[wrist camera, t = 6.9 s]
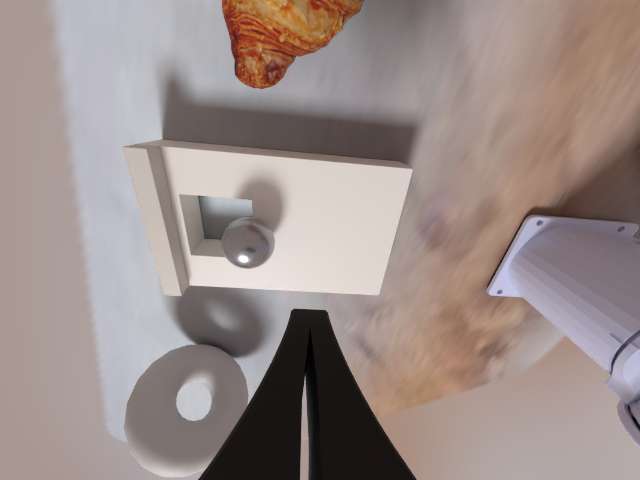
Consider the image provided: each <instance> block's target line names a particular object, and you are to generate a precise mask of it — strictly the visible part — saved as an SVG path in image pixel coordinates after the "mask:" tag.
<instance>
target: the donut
mask: <svg viewBox="0 0 640 480" xmlns="http://www.w3.org/2000/svg"><path fill="white" fill-rule="evenodd" d="M190 382H199V383H201V384H203V385H204V386H206V388H207V389H208V390H209V392H210V394H211V397H212V404H211V409H210V411H209V413H208V414H207V415H206V416H205V417H204V418H203V419H201V420H198V421H189V420H187V419H185V418H183V417H182V416H181V415H180V413H179V412H178V409H177V406H176V397H177V394H178V392H179V390H180V389H181V387H183V386H184V385H185V384H187V383H190ZM247 403H248V390H247V384H246V379H245V377H244V374H243V372H242V370H241V368H240V366H239V365H238V363H237V362H236V361H235V360H234V359H233V358H232V356H231V355H229V354H228V353H226V352H224V351H223V350H221V349H220V348H217V347H213V346H210V345H206V344H199V345H186V346H183V347H180V348H177V349H174V350H171V351H169V352H168V353H167V354H165V355H164V356H162V357H161V358H159V359H158V360H156V361H155V362H153V363H152V364H151V365H150V367H149V368H148V369H147V370H146V371H145V372H144V374H143V375H142V376H141V377H140V378H139V379H138V381H137V383H136V385H135V387H134V389H133V392H132V394H131V396H130V398H129V400H128V403H127V408H126V416H125V424H124V430H125V434H126V439H127V443H128V447H129V450H130V452H131V453H132V454H133V456H134V457H135V458H136V460H137V461H138V462H139V463H140V465H141V466H142V467H143V468H144V469H146V470H149V471H151V472H153V473H155V474H157V475H159V476H161V477H186V476H189V475H192V474H194V473H196V472H199V471H202V470H204V469H206V468H207V467H208V466H209V464H210V463H211V461H212V460H213V458H214V457H215V455H216V454H217V453H218V451H219V450H220V448H221V447H222V445H223V444H224V442H225V441H226V439H227V438H228V436H229V434H230V433H231V431H232V430H233V428H234V427H235V425H236V424H237V422H238V421H239V419H240V417H241V416H242V414H243V413H244V411H245V409H246V408H247Z"/></svg>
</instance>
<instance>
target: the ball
mask: <svg viewBox="0 0 640 480" xmlns="http://www.w3.org/2000/svg"><path fill="white" fill-rule="evenodd" d="M221 248H222V251H223V254H224V256H225V257H226V259H227V260H228V261H229V262H230V263H232V264H233V265H235V266H237V267H240V268H244V269H252V268H256V267H259V266H261V265H263V264H264V263H266V262H267V261H268V260H269V259H270V257H271V256H272V254H273V251H274V248H275V238H274V234H273V232H272V230H271V228H270V227H269V226H268V225H267V224H266V223H265V222H263V221H262V220H260V219H257V218H254V217H243V218H239V219H237V220H234V221H233V222H231V223H230V224H229V225H228V226H227V227H226V229H225V230H224V232H223V234H222V238H221Z"/></svg>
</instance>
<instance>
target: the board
mask: <svg viewBox="0 0 640 480" xmlns="http://www.w3.org/2000/svg"><path fill="white" fill-rule="evenodd" d="M122 148H123V152H124V155H125V159H126V162H127V166H128V169H129V173H130V176H131V180H132V183H133V187H134V190H135V194H136V197H137V201H138V204H139V208H140V212H141V215H142V219H143V222H144V226H145V229H146V233H147V236H148V240H149V243H150V247H151V250H152V254H153V257H154V261H155V264H156V268H157V271H158V275H159V278H160V282H161V285H162V289H163V292H164V295H170V296H182V295H183V293H184V292H185V291H186V289H187V288H188V286H189V285H193V286H212V287H231V288H250V289H269V290H288V291H307V292H327V293H346V294H365V295H379V293H380V289H381V285H382V282H383V278H384V274H385V271H386V267H387V263H388V260H389V256H390V252H391V248H392V245H393V241H394V237H395V234H396V230H397V226H398V223H399V219H400V215H401V212H402V208H403V204H404V201H405V197H406V193H407V190H408V186H409V182H410V179H411V175H412V171H413V169H412V168H410V167H409V166H407V165H405V164H403V163H402V162H400V161H390V160H379V159H368V158H357V157H346V156H335V155H325V154H314V153H303V152H292V151H281V150H271V149H260V148H249V147H238V146H227V145H216V144H206V143H195V142H184V141H173V140H156V141H151V142H146V143H141V144H135V145H130V146H125V147H122ZM198 196H210V197H223V198H236V199H249V200H252V205H253V217H254V218H257V219H260V220H262V221H263V222H265V223H266V224H267V225H268V226H269V227H270V228H271V230H272V232H273V234H274V238H275V248H274V251H273V254H272V256H271V257H270V259H269V260H268V261H267V262H266V263H264V264H263V265H261V266H259V267H256V268H252V269H244V268H240V267H237V266H235V265H233V264H232V263H230V262H229V261H228V260H227V259H226V257H225V256H224V254H223V251H222V248H221V240H217V239H205V238H204V231H203V225H202V218H201V212H200V206H199V199H198Z"/></svg>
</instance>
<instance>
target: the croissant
mask: <svg viewBox="0 0 640 480" xmlns="http://www.w3.org/2000/svg"><path fill="white" fill-rule="evenodd" d="M363 2H364V0H222V9H223V15H224V18H225V21H226V25H227V28H228V32H229V35H230V39H231V50H232V54H233V57H234V59H235V75H236V76H237V78H238V79H239V80H240V81H241V82H243V83H244V84H246V85H248V86H250V87H253V88H260V89H264V88H268V87H271V86H273V85H275V84H276V83H278V82H279V81H280V80H281V79H282V78H283V77H284V75H285V72H286V70H287V68H288V67H289V66H290V65H291V64H292V63H293V62H294V60H295V57H296V56H303V55H306V54H309V53H314V52H315V51H317V50H319V49H320V48H322V47H326V46H327V45H328V43H329V42H330V40H331V39H332V38H333V37H334V36H335V35H336V34H337V33H338V32H340V31H341V30H343V25H344V24H345V23H346V22H347V21H348V20H349V19H350V18H351V17H352V16H354V15H355V14H356V13H358V12H359V11H360V9H361V6H362V3H363Z"/></svg>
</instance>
